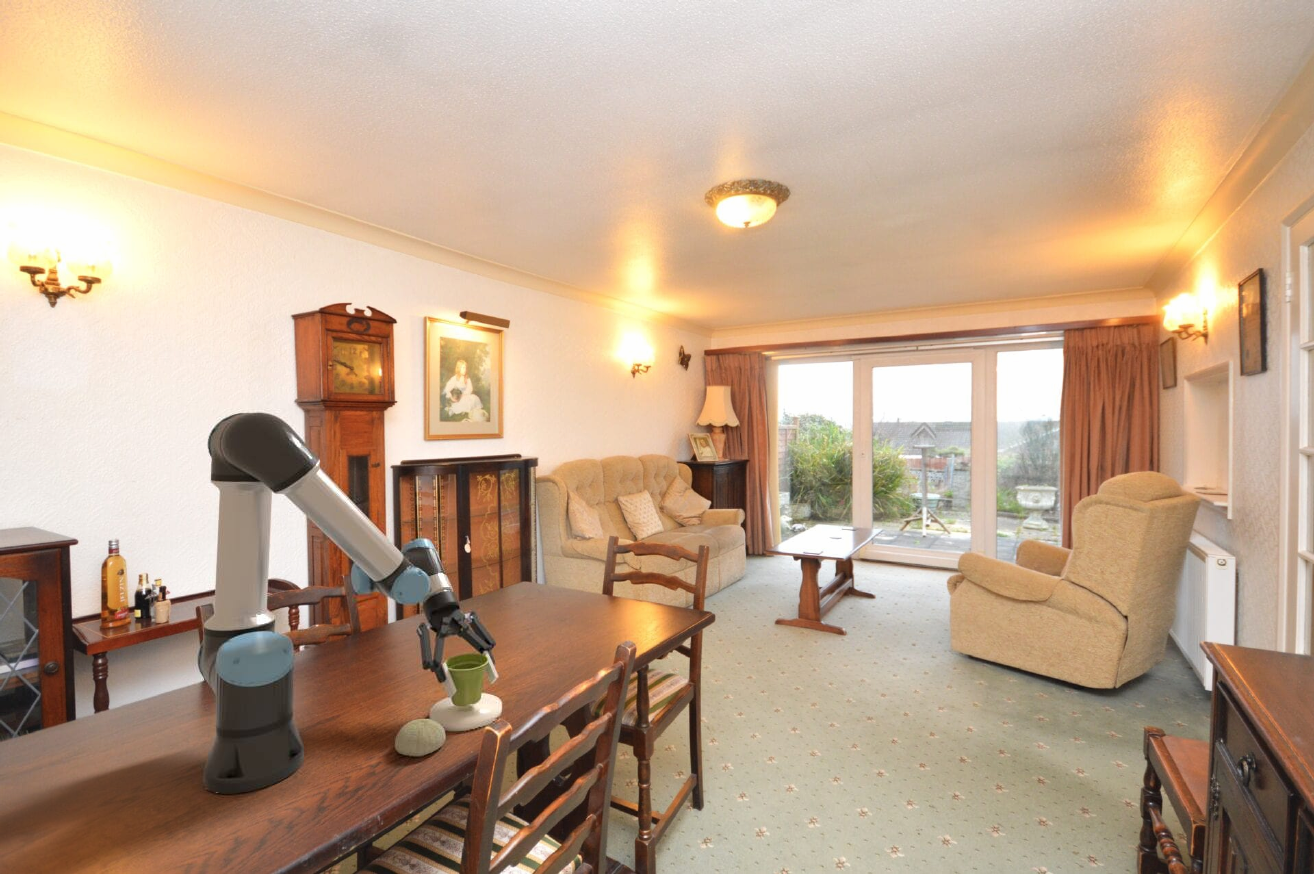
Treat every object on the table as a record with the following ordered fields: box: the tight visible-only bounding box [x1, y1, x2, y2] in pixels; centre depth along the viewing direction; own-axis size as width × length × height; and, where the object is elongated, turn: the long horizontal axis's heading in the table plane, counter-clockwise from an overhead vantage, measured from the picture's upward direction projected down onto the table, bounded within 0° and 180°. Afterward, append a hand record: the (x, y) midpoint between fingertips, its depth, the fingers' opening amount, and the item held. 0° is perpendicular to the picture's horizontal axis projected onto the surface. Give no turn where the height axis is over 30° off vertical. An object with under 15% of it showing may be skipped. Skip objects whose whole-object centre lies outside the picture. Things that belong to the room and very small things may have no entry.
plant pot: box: [443, 652, 489, 706], centre depth 132 cm, size 9×9×9 cm
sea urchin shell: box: [394, 718, 447, 758], centre depth 119 cm, size 9×8×8 cm
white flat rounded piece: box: [429, 692, 503, 732], centre depth 132 cm, size 15×15×2 cm
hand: (474, 687), depth 130 cm, fingers closed on plant pot, 9 cm apart
